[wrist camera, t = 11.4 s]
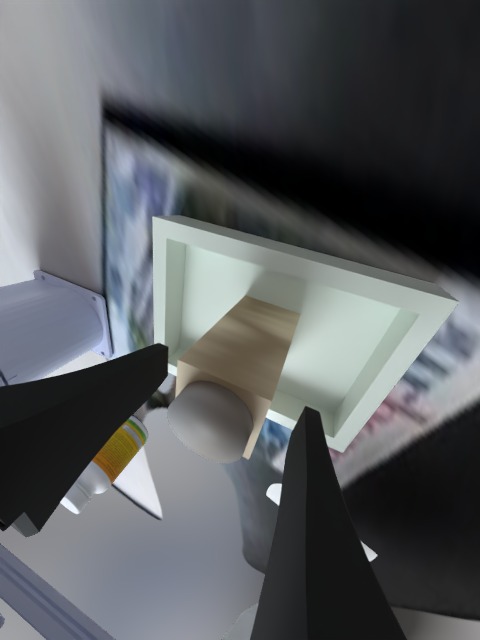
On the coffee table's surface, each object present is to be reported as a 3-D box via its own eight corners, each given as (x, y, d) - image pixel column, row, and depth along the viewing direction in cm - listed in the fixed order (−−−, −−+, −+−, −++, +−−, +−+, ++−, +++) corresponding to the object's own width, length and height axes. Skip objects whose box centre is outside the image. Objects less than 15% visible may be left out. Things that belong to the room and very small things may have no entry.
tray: (174, 348, 22) (154, 365, 19) (180, 215, 15) (152, 216, 13) (341, 421, 18) (342, 453, 16) (435, 283, 12) (459, 301, 10)
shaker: (235, 340, 18) (160, 438, 10) (245, 295, 16) (161, 375, 8) (283, 359, 17) (240, 482, 9) (300, 314, 15) (264, 423, 7)
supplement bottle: (128, 407, 30) (50, 481, 22) (156, 435, 30) (90, 518, 22) (113, 417, 33) (40, 486, 25) (139, 443, 33) (75, 519, 25)
